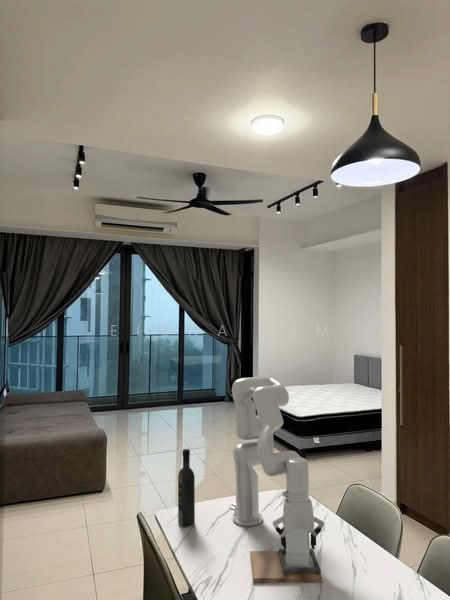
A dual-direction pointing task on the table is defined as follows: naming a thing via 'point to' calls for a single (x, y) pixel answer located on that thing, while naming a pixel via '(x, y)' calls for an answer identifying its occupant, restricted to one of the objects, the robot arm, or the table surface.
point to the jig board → (282, 568)
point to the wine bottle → (186, 492)
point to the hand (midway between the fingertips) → (298, 547)
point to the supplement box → (297, 548)
